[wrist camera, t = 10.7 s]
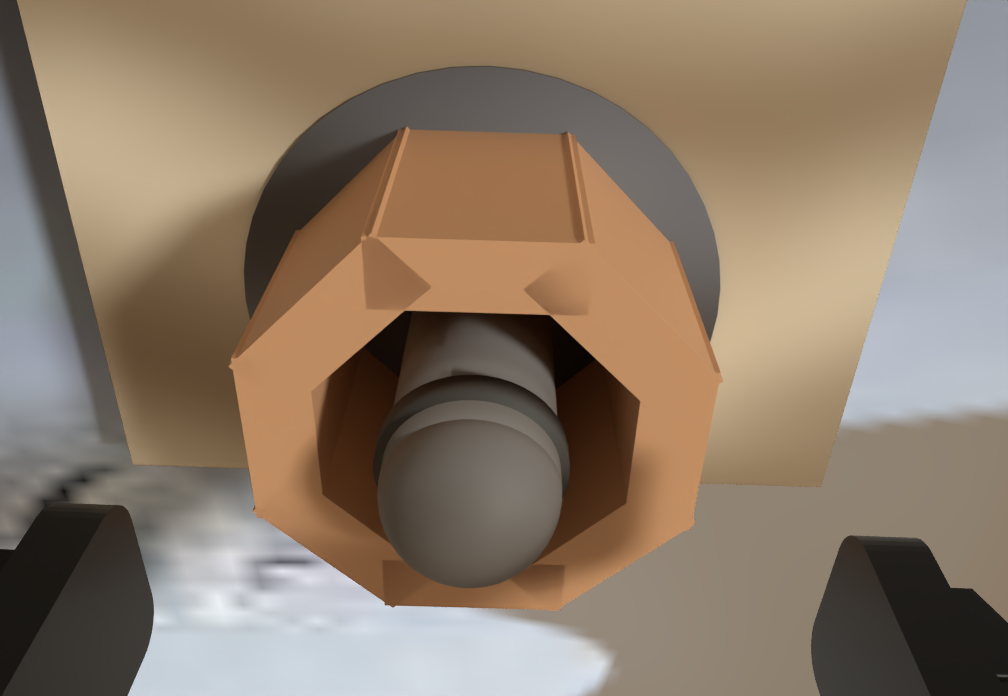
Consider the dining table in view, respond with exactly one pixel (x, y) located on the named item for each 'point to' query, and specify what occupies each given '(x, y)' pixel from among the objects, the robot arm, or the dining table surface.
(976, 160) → the dining table surface
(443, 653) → the dining table surface
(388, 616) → the dining table surface
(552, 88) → the post board
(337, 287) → the ring
